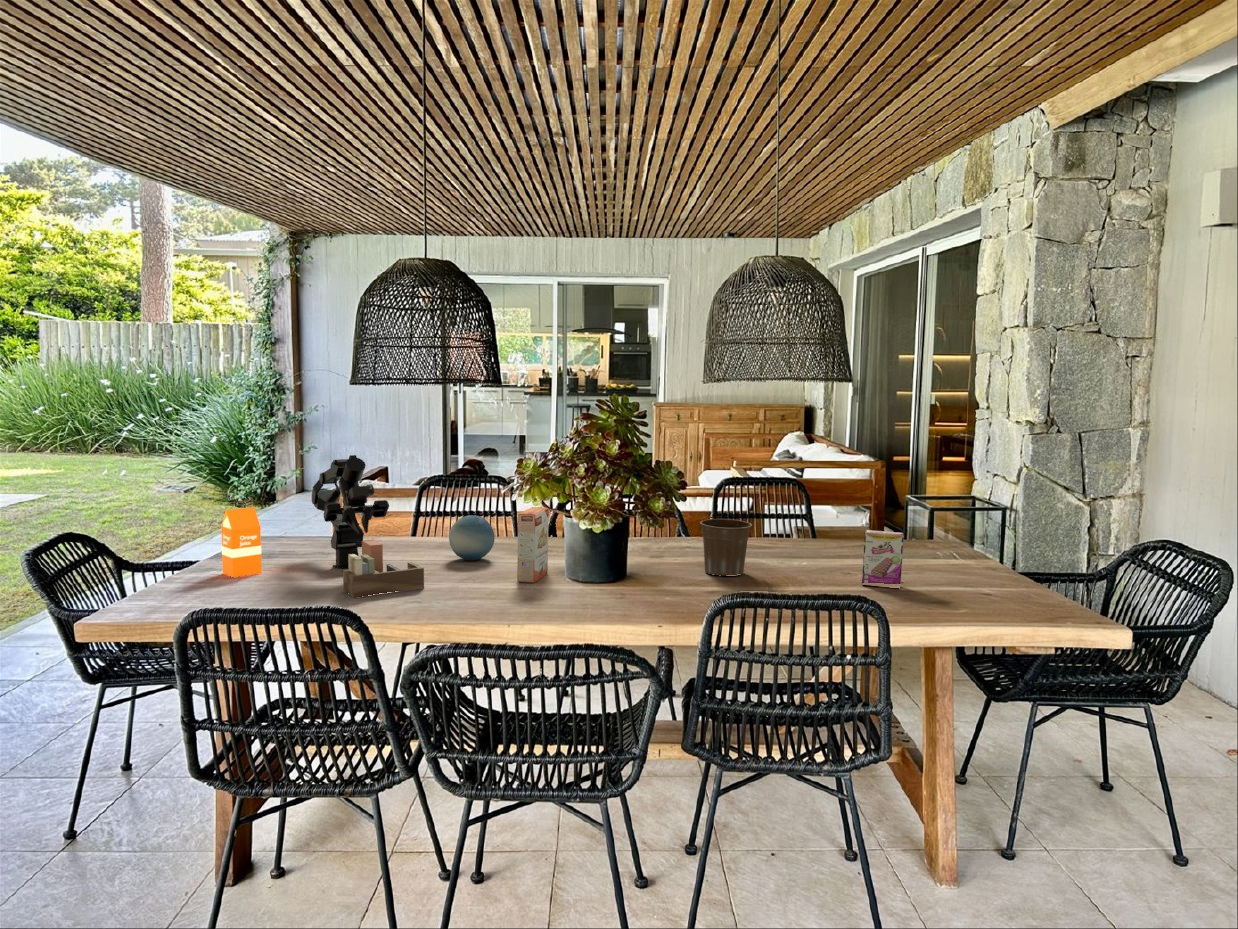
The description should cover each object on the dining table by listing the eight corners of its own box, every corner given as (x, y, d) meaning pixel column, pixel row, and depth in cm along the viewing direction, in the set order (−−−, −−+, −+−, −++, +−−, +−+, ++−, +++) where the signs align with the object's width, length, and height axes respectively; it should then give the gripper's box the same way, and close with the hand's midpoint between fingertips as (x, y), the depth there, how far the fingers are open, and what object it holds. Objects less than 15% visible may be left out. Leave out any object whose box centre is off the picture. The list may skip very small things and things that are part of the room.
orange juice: (222, 573, 249) (220, 508, 247) (251, 568, 256) (249, 505, 254) (232, 577, 244) (230, 511, 242) (262, 573, 250) (260, 508, 249)
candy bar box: (861, 586, 244) (864, 532, 243) (862, 582, 249) (864, 529, 247) (901, 590, 241) (903, 535, 239) (901, 586, 245) (903, 532, 244)
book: (362, 580, 243) (361, 540, 242) (374, 579, 245) (373, 539, 244) (371, 586, 236) (370, 545, 235) (383, 584, 238) (382, 544, 237)
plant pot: (760, 573, 259) (762, 523, 258) (730, 581, 248) (732, 529, 246) (718, 565, 270) (720, 516, 269) (688, 572, 259) (689, 522, 257)
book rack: (342, 590, 231) (342, 553, 230) (410, 581, 243) (410, 546, 242) (354, 598, 223) (353, 560, 222) (424, 588, 234) (423, 552, 233)
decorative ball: (474, 566, 263) (474, 520, 262) (439, 561, 270) (439, 516, 269) (503, 558, 276) (503, 514, 274) (469, 553, 283) (469, 510, 282)
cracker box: (535, 583, 242) (536, 514, 240) (516, 582, 243) (516, 513, 241) (549, 573, 256) (549, 507, 254) (530, 572, 257) (531, 506, 255)
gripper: (325, 477, 243) (336, 519, 235) (386, 474, 254) (399, 514, 246) (318, 500, 250) (329, 541, 243) (378, 496, 261) (391, 535, 253)
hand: (363, 532), depth 246 cm, fingers closed
